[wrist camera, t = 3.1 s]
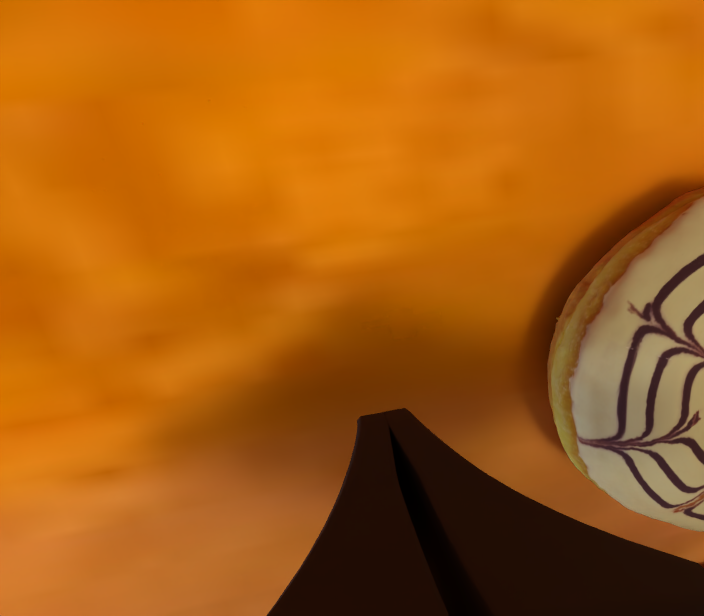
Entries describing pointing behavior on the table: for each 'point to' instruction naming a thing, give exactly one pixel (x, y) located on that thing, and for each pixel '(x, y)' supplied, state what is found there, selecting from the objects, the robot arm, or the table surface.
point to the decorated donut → (638, 368)
